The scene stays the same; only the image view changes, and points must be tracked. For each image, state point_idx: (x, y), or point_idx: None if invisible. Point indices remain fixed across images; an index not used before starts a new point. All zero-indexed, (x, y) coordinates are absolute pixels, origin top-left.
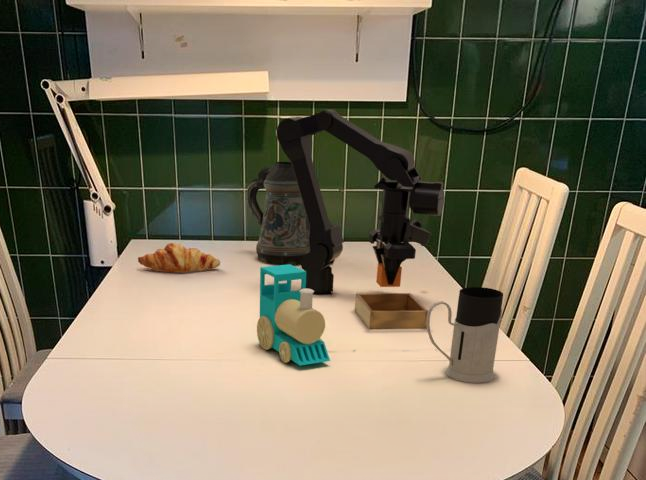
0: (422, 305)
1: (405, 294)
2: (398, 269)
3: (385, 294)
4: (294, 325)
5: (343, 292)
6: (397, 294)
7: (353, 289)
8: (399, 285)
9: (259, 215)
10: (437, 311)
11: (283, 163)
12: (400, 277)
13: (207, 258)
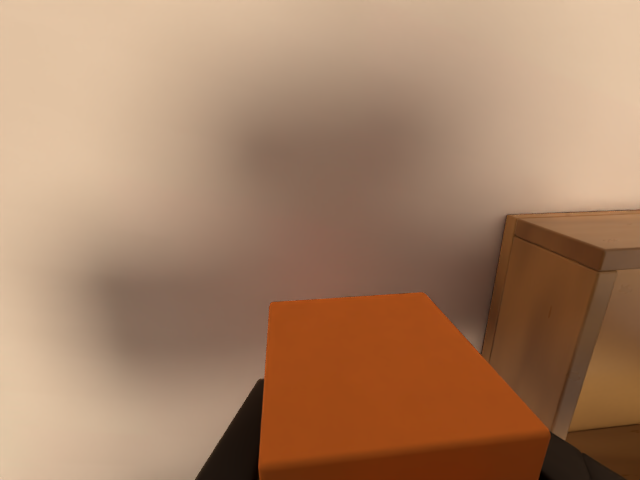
0: None
1: (610, 286)
2: (612, 472)
3: (574, 406)
4: None
5: (123, 466)
6: (593, 338)
7: (42, 422)
8: (429, 302)
9: None
10: (540, 20)
11: None
12: (465, 342)
13: None
